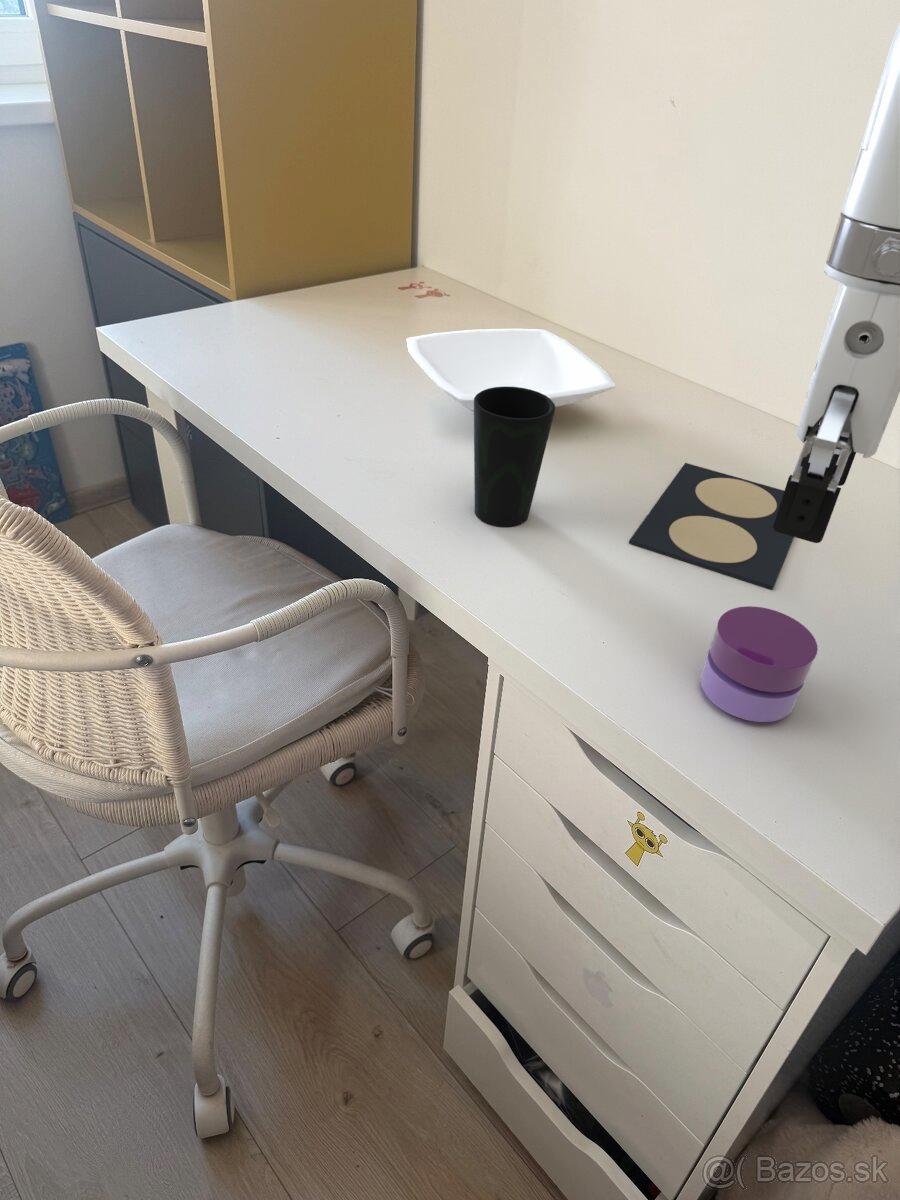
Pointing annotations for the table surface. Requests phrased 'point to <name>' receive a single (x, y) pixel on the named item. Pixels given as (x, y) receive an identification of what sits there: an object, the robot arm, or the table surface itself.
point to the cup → (508, 452)
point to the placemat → (718, 525)
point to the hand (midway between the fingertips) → (810, 506)
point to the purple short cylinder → (763, 649)
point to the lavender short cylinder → (745, 696)
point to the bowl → (508, 364)
